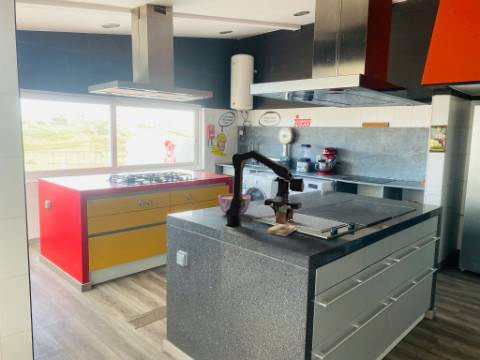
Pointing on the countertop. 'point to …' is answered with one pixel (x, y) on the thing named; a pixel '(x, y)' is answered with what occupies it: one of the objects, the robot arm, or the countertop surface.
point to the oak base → (281, 229)
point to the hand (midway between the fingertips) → (282, 220)
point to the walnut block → (281, 217)
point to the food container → (286, 210)
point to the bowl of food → (227, 198)
